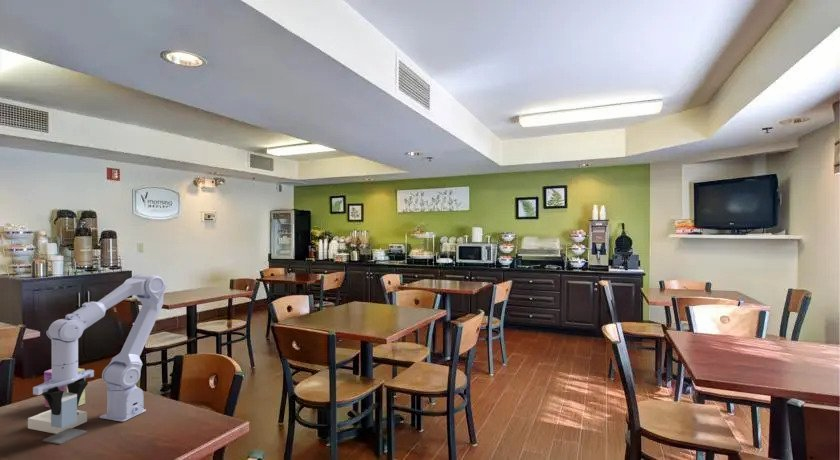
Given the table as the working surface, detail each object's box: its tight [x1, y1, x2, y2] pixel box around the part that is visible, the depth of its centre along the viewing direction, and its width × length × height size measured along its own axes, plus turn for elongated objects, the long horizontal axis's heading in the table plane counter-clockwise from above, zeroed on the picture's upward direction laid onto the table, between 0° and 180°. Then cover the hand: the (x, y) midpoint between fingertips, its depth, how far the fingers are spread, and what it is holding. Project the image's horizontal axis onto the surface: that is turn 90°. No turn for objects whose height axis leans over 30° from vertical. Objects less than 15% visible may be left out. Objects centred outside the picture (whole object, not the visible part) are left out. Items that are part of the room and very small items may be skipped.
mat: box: [42, 427, 88, 445], centre depth 119 cm, size 6×7×1 cm
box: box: [43, 367, 86, 408], centre depth 139 cm, size 10×6×12 cm, turn 73°
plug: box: [51, 392, 78, 428], centre depth 119 cm, size 4×4×8 cm
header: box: [27, 409, 88, 435], centre depth 125 cm, size 12×8×4 cm, turn 75°
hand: (65, 410), depth 118 cm, fingers closed on plug, 4 cm apart
